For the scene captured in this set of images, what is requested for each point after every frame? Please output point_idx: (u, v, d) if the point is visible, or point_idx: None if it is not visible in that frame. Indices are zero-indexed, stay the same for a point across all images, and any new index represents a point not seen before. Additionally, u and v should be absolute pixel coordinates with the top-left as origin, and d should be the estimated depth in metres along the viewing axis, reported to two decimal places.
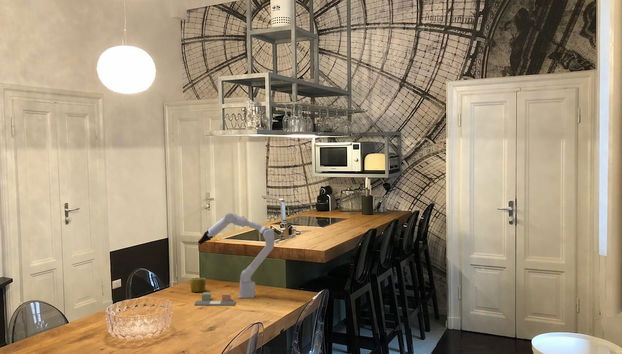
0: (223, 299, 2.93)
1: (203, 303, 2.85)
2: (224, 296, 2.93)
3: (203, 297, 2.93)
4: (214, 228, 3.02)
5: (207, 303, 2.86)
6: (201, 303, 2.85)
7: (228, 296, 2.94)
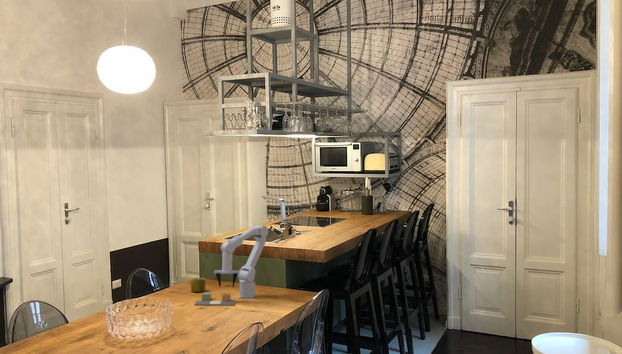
0: (223, 299, 2.93)
1: (203, 303, 2.85)
2: (224, 296, 2.93)
3: (203, 297, 2.93)
4: (231, 266, 2.95)
5: (207, 303, 2.86)
6: (201, 303, 2.85)
7: (228, 296, 2.94)
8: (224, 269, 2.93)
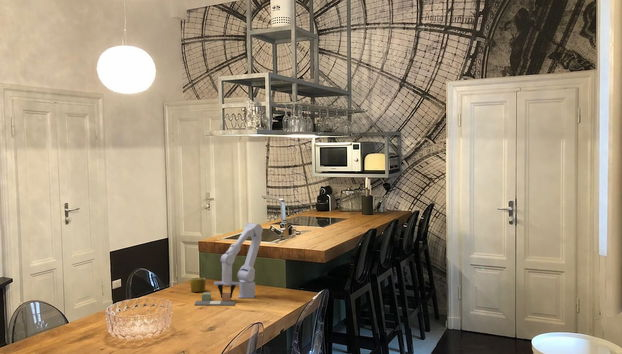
0: (223, 299, 2.93)
1: (203, 303, 2.85)
2: (224, 296, 2.93)
3: (203, 297, 2.93)
4: (231, 277, 2.95)
5: (207, 303, 2.86)
6: (201, 303, 2.85)
7: (228, 296, 2.94)
8: (224, 281, 2.93)
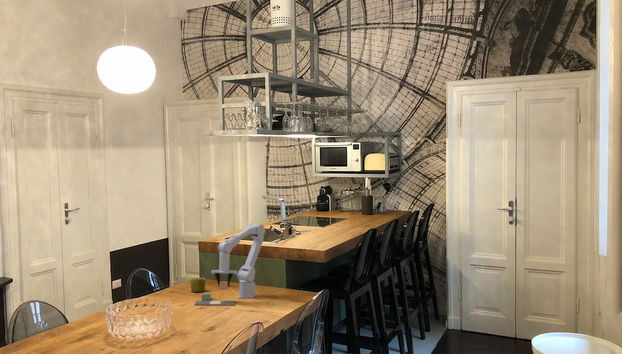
0: (220, 287, 2.91)
1: (203, 303, 2.85)
2: (221, 284, 2.91)
3: (203, 297, 2.93)
4: (228, 265, 2.93)
5: (207, 303, 2.86)
6: (201, 303, 2.85)
7: (225, 284, 2.91)
8: (221, 269, 2.91)
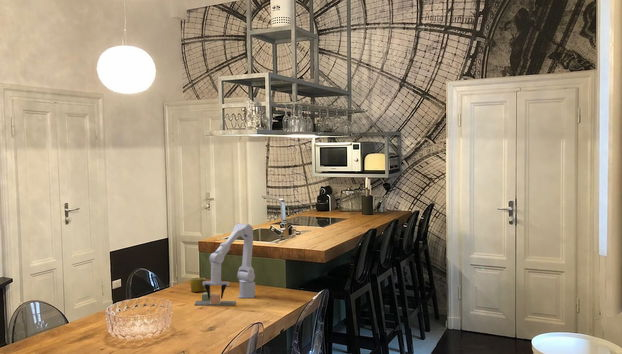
0: (212, 301, 2.85)
1: (203, 303, 2.85)
2: (213, 298, 2.86)
3: (203, 297, 2.93)
4: (220, 277, 2.87)
5: (207, 303, 2.86)
6: (201, 303, 2.85)
7: (217, 298, 2.86)
8: (213, 280, 2.85)
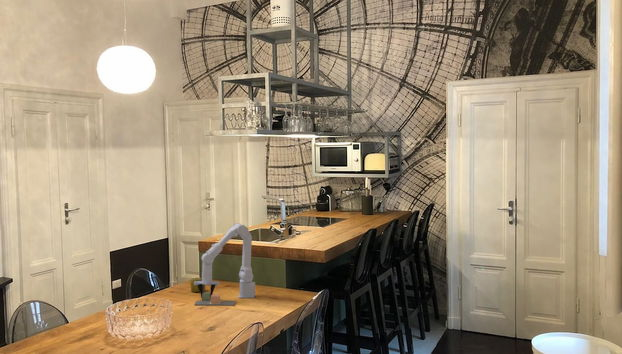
0: (212, 301, 2.85)
1: (203, 303, 2.85)
2: (213, 298, 2.86)
3: (203, 297, 2.93)
4: (211, 277, 2.95)
5: (207, 303, 2.86)
6: (201, 303, 2.85)
7: (217, 298, 2.86)
8: (204, 280, 2.93)
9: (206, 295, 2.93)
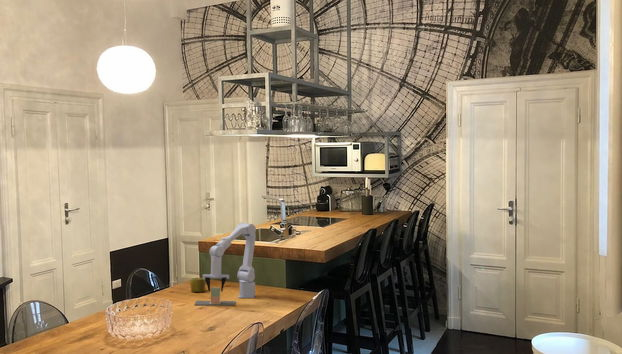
0: (212, 301, 2.85)
1: (203, 303, 2.85)
2: (213, 298, 2.86)
3: (212, 292, 2.85)
4: (220, 270, 2.87)
5: (207, 303, 2.86)
6: (201, 303, 2.85)
7: (217, 298, 2.86)
8: (213, 273, 2.85)
9: (215, 290, 2.86)
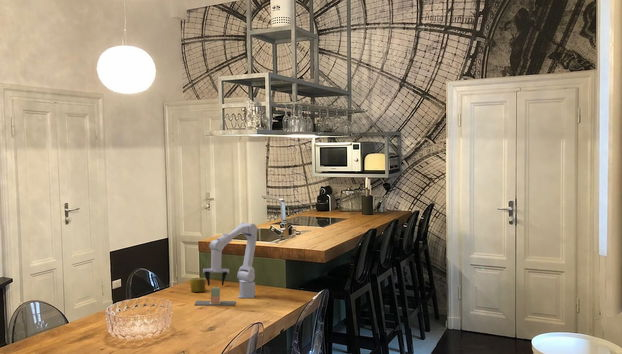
0: (212, 301, 2.85)
1: (203, 303, 2.85)
2: (213, 298, 2.86)
3: (212, 292, 2.85)
4: (220, 264, 2.87)
5: (207, 303, 2.86)
6: (201, 303, 2.85)
7: (217, 298, 2.86)
8: (213, 267, 2.85)
9: (215, 290, 2.86)
